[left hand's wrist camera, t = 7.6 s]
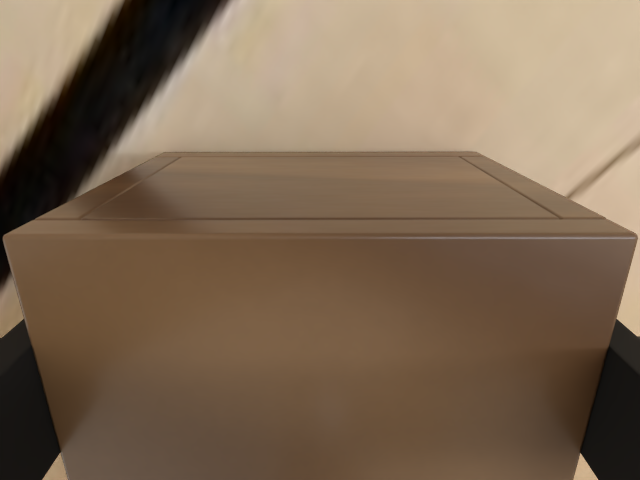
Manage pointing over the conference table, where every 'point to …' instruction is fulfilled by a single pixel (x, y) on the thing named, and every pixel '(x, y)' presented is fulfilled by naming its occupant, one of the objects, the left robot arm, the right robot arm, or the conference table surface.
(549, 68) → the conference table surface
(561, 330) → the cabinet
